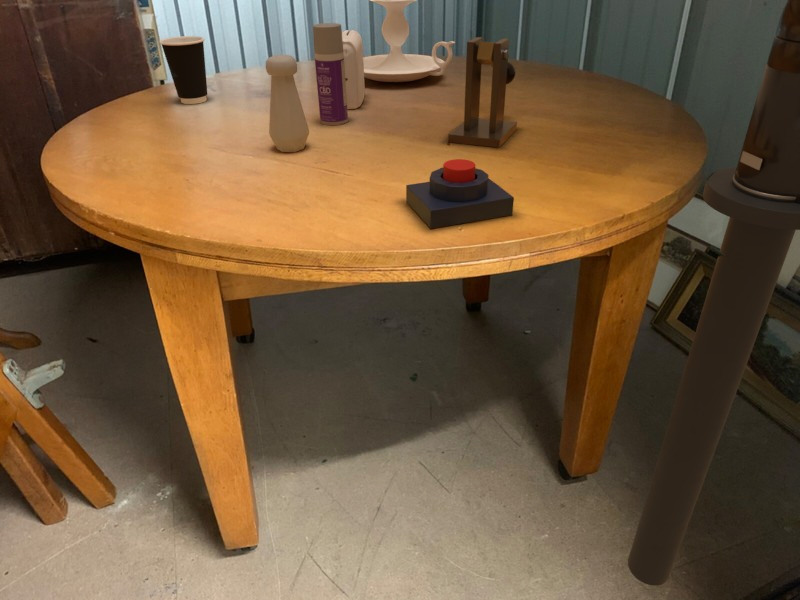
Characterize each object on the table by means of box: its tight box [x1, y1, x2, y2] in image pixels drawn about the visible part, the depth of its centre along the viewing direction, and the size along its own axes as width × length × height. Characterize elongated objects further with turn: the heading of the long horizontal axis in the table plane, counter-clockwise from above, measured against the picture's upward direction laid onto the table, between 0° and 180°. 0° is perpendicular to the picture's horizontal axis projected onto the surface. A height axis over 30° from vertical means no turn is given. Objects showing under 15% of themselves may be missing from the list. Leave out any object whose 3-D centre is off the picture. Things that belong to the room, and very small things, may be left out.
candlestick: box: [363, 0, 456, 83], centre depth 120 cm, size 21×25×28 cm
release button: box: [442, 158, 477, 183], centre depth 68 cm, size 4×4×2 cm
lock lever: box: [477, 41, 516, 85], centre depth 92 cm, size 14×4×4 cm, turn 156°
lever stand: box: [447, 36, 518, 149], centre depth 90 cm, size 10×8×14 cm
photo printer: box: [342, 29, 366, 110], centre depth 109 cm, size 10×4×12 cm, turn 177°
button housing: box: [405, 167, 515, 230], centre depth 69 cm, size 10×8×4 cm
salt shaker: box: [265, 54, 310, 153], centre depth 87 cm, size 6×6×13 cm
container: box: [312, 22, 349, 126], centre depth 98 cm, size 5×5×15 cm
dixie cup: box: [158, 35, 208, 105], centre depth 113 cm, size 8×8×11 cm
